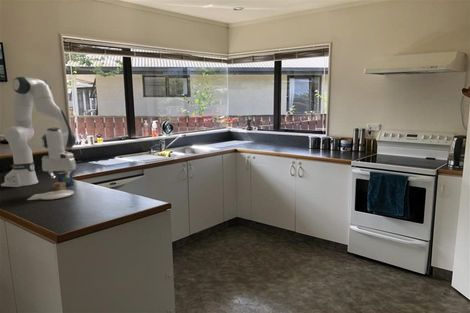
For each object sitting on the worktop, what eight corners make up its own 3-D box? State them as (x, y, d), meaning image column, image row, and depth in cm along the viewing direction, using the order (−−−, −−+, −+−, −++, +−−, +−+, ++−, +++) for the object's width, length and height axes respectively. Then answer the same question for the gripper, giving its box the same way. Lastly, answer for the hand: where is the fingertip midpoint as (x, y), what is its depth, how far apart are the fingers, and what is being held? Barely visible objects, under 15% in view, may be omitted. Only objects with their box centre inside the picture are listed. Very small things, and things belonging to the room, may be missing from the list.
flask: (72, 184, 234) (70, 168, 232) (74, 185, 232) (72, 168, 230) (58, 187, 226) (56, 170, 225) (60, 188, 225) (58, 171, 223)
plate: (31, 200, 198) (31, 198, 198) (53, 191, 215) (53, 189, 215) (60, 200, 195) (60, 198, 194) (80, 192, 212) (80, 190, 212)
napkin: (27, 200, 198) (26, 199, 198) (35, 194, 210) (35, 194, 210) (42, 198, 200) (42, 198, 200) (49, 193, 211) (49, 193, 211)
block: (53, 192, 215) (52, 184, 214) (58, 190, 220) (58, 182, 219) (61, 192, 214) (60, 184, 213) (66, 190, 219) (65, 182, 218)
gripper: (37, 156, 213) (41, 179, 215) (69, 155, 209) (72, 178, 211) (45, 155, 219) (48, 177, 221) (75, 153, 215) (79, 176, 218)
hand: (60, 178), depth 216 cm, fingers open, 8 cm apart
